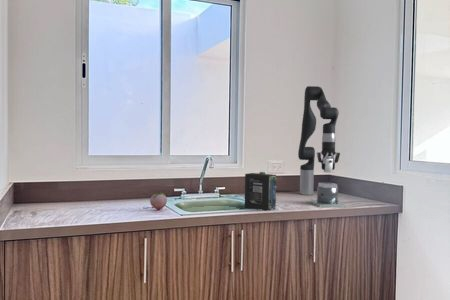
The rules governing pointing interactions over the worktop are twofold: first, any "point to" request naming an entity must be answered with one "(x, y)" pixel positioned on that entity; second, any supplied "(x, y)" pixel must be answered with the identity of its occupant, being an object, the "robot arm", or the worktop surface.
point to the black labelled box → (260, 191)
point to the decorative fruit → (158, 201)
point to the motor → (327, 196)
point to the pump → (328, 164)
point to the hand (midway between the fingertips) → (328, 169)
